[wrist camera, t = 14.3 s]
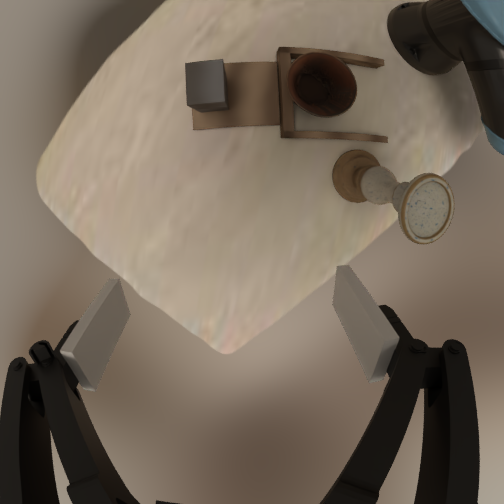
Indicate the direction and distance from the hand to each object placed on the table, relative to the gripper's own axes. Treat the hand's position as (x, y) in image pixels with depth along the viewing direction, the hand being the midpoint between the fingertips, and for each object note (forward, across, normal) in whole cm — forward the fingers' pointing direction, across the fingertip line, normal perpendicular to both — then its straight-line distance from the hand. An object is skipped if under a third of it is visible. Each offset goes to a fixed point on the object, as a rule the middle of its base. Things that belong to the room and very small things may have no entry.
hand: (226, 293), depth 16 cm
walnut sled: (+29, +9, +15) cm, 34 cm away
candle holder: (+29, +20, +2) cm, 35 cm away
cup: (+29, +12, +15) cm, 35 cm away
